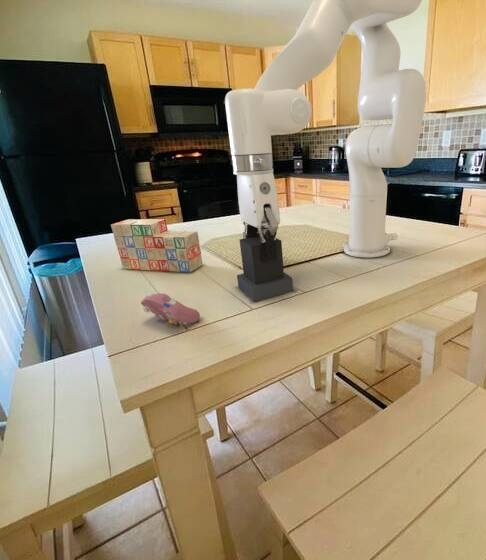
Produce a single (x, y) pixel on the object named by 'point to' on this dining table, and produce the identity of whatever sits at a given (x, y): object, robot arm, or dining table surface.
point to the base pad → (265, 287)
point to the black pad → (257, 250)
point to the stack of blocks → (156, 246)
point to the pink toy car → (169, 309)
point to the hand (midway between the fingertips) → (261, 255)
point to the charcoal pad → (263, 271)
